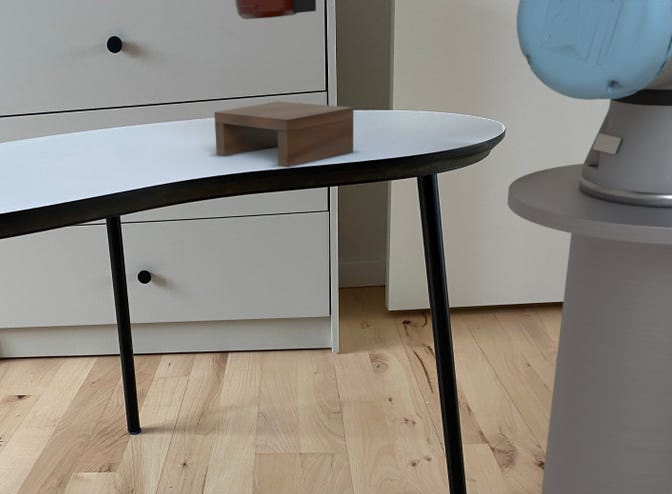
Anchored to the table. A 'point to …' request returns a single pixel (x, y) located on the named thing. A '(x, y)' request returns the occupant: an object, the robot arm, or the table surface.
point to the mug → (263, 8)
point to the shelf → (286, 131)
